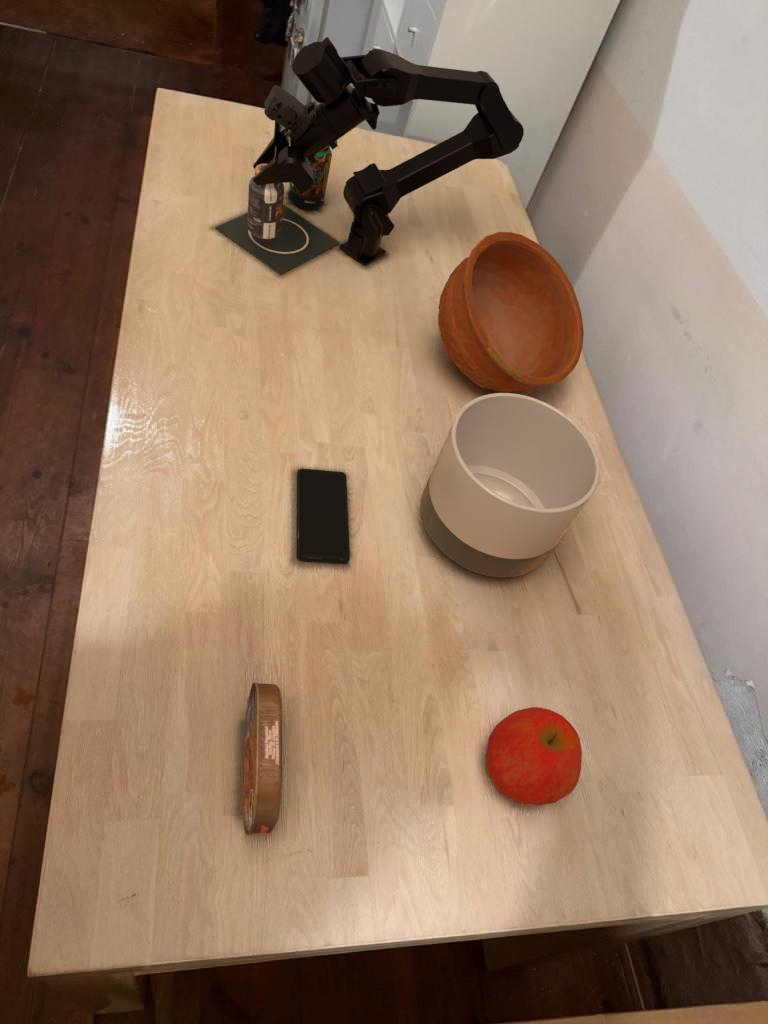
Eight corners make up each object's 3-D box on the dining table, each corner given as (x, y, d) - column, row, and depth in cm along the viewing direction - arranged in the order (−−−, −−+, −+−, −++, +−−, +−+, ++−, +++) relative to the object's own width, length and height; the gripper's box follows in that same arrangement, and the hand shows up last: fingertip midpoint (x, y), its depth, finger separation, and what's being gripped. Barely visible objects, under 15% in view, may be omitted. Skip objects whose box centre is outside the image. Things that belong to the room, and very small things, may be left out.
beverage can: (316, 216, 142) (326, 156, 133) (282, 203, 142) (289, 142, 133) (328, 199, 147) (338, 139, 137) (294, 186, 147) (303, 126, 137)
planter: (438, 597, 97) (482, 518, 83) (398, 481, 107) (431, 394, 93) (566, 580, 103) (626, 504, 89) (516, 472, 113) (564, 389, 100)
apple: (576, 799, 85) (619, 770, 76) (498, 826, 81) (535, 798, 73) (538, 715, 90) (574, 679, 82) (463, 736, 86) (493, 701, 78)
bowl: (385, 350, 117) (444, 313, 104) (440, 243, 127) (499, 197, 115) (494, 440, 126) (560, 416, 114) (537, 334, 137) (601, 301, 124)
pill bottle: (280, 242, 130) (284, 181, 121) (246, 238, 129) (247, 176, 120) (282, 222, 133) (286, 161, 124) (248, 217, 132) (250, 156, 123)
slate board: (276, 201, 142) (276, 199, 142) (339, 244, 138) (339, 242, 138) (215, 228, 133) (215, 226, 133) (281, 275, 129) (281, 273, 129)
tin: (245, 700, 83) (252, 668, 76) (274, 700, 84) (282, 669, 77) (241, 844, 74) (248, 822, 67) (273, 843, 75) (282, 821, 68)
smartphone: (296, 558, 94) (297, 467, 103) (296, 561, 95) (296, 471, 104) (350, 561, 96) (346, 471, 105) (349, 564, 96) (345, 475, 105)
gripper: (297, 47, 116) (222, 106, 122) (301, 105, 105) (219, 167, 111) (339, 107, 124) (266, 159, 130) (346, 167, 113) (267, 221, 119)
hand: (254, 175), depth 123 cm, fingers closed on pill bottle, 4 cm apart
